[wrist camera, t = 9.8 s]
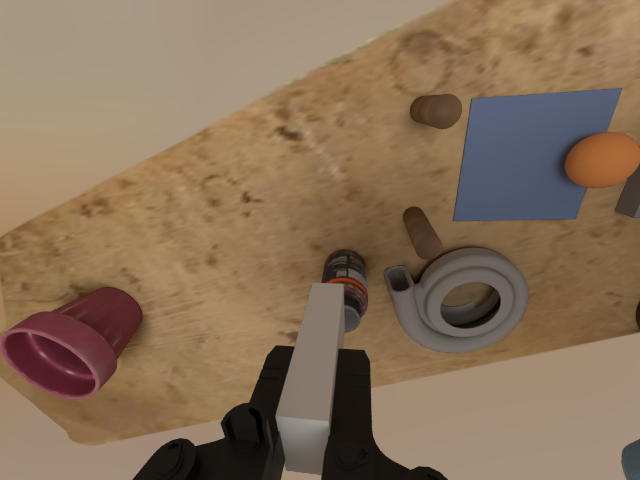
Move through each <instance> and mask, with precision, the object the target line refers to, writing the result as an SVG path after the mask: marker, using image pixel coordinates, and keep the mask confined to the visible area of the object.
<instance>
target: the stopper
mask: <svg viewBox="0 0 640 480" xmlns="http://www.w3.org/2000/svg"><path fill="white" fill-rule="evenodd" d="M615 210H616V211H618V212H620V213H623V214H625V215H627V216H630V217H632V218H640V164H639V166H638V167H637V169H636V170H635V171H634V173H633V174H632V175H630V176H629V178H628V180H627V182H626V185H625V187H624V190H623V192H622V194H621V197H620V199H619V202H618V204H617V207H616V209H615Z"/></svg>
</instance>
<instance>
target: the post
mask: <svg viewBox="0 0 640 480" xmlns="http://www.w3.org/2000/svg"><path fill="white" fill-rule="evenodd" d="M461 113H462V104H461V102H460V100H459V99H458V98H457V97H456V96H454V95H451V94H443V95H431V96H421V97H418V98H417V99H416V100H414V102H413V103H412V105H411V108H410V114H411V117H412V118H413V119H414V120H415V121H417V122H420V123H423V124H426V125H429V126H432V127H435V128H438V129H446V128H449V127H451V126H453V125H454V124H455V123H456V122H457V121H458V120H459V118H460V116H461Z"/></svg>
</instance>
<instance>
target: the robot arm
mask: <svg viewBox="0 0 640 480" xmlns="http://www.w3.org/2000/svg"><path fill="white" fill-rule="evenodd" d="M637 322H638V325H639V327H640V305H639V307H638V311H637ZM344 332H345V315H344V284H335V283H313V284H312V288H311V291H310V295H309V298H308V302H307V305H306V309H305V313H304V316H303V320H302V323H301V327H300V330H299V334H298V337H297V341H296V345H295V347H293V346H277V345H276V346H275V347H274V348H273V349H272V351H271V352H270V353H269V354H268V355H267V357H266V360H265V363H264V365H263V369H262V371H261V373H260V376H259V379H258V381H257V384H256V386H255V389H254V391H253V394H252V397H251V399H250V402H249V403H243V404H240V405H238V406H236V407H234V408H233V409H232V410H230V411H229V412H228V413H227V414H226V415H225V417H224V418H223V420H222V421H221V426H222V429H223V432H224V435H225V438H223V439H220V440H218V441H214V442H211V443H207V444H202V445H198V446H194V444H193V443H191V442H190V441H189V440H188V439H182V438H179V439H175V440H172V441H170V442H168V443H166V444H165V445H163V446H161V447H160V448H159V449H158V450H157V451H156V452H155V453H154V454H153V456H152V457H151V458H150V459H149V460H148V461H147V463H146V464H145V465H144V466H143V468H142V469H141V470H140V471H139V472H138V474H137V475H136V476H135V477H134V479H133V480H281V476H282V471H283V467H284V463H285V467H286V470H287V471H294V472H302V473H310V474H317V475H322V478H321V480H448V479H447V478H445V477H444V476H443V475H442V474H441V473H440V472H438V471H436V470H434V469H432V468H430V467H421V466H419V467H416V468H414V469H412V470H410V469H408V468H406V467H404V466H402V465H400V464H398V463H396V462H394V461H392V460H391V459H389V458H388V457H386V456H385V455H384V454H383V453H382V452H381V451H380V449H379V448H378V446H377V445H376V443H375V440H374V438H373V433H372V419H371V418H372V415H371V379H370V361H369V359H368V357H367V355H366V353H365V351H364V350H353V349H343V344H344ZM621 462H622V468H623V471H624V474H625V476H626V479H627V480H640V439H639V440H637V441H635V442H633V443H630V444H629V445H627V446H626V447H625V448H624V449H623V451H622V461H621Z"/></svg>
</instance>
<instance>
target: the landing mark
mask: <svg viewBox="0 0 640 480" xmlns="http://www.w3.org/2000/svg"><path fill="white" fill-rule="evenodd" d="M621 90H622V88H618V89H604V90H590V91H576V92H561V93H547V94H533V95H519V96H504V97H490V98H476V99H472V100H471V106H470V113H469V119H468V126H467V133H466V139H465V146H464V152H463V159H462V166H461V172H460V179H459V185H458V192H457V199H456V205H455V212H454V218H453V221H494V220H561V219H576V217H577V214H578V211H579V208H580V206H581V203H582V200H583V197H584V194H585V192H586V189H587V187H583V186H580V185H578V184H576V183H574V182H573V181H572V180H571V179H570V178H569V177H568V175H567V173H566V171H565V160H566V157H567V155H568V153H569V152H570V150H571V149H572V148H573V147H574V146H575V145H576V144H577V143H579V142H580V141H582V140H583V139H585V138H587V137H589V136H592V135H595V134H599V133H605V132H607V130H608V127H609V124H610V121H611V118H612V116H613V113H614V110H615V107H616V104H617V102H618V99H619V96H620V93H621Z"/></svg>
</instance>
